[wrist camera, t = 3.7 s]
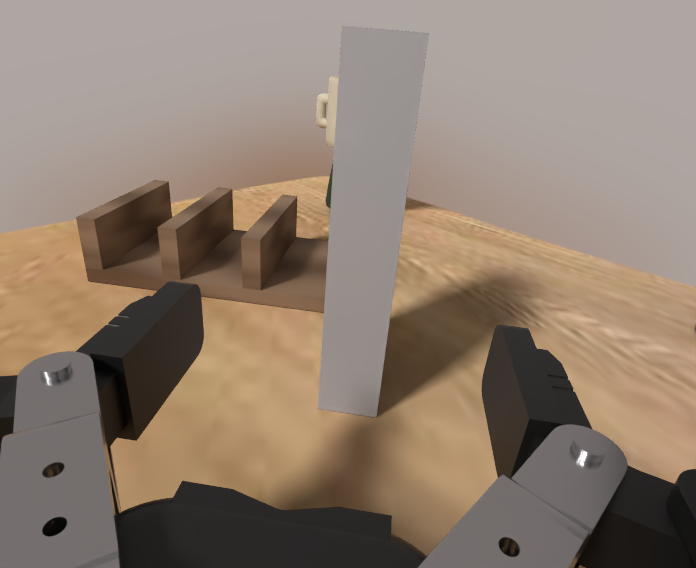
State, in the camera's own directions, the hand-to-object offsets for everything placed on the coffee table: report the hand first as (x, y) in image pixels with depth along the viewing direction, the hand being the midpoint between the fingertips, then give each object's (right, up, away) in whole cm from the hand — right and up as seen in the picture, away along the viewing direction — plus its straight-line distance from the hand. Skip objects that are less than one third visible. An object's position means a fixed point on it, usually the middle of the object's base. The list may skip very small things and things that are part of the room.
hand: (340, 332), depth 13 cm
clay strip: (+1, -4, +12) cm, 13 cm away
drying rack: (-8, +3, +23) cm, 24 cm away
